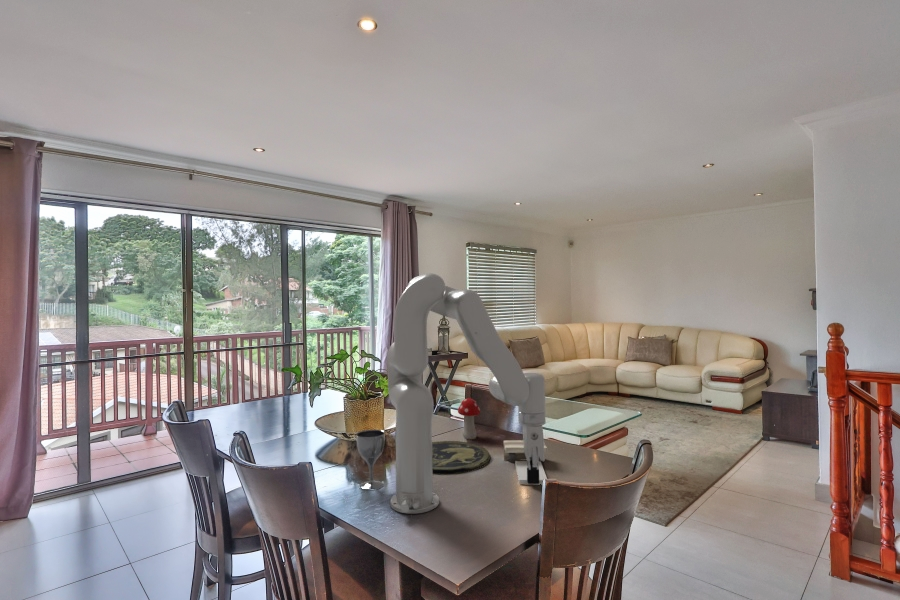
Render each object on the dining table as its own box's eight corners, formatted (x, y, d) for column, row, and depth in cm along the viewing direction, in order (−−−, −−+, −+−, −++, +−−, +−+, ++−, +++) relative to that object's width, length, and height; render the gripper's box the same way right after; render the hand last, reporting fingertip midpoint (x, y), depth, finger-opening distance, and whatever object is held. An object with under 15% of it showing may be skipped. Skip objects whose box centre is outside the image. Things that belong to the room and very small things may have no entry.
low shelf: (547, 467, 146) (546, 447, 146) (505, 467, 146) (505, 447, 146) (543, 458, 154) (542, 440, 154) (503, 458, 154) (503, 440, 154)
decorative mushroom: (455, 434, 183) (454, 396, 183) (475, 432, 186) (474, 395, 186) (463, 441, 174) (462, 401, 174) (484, 439, 176) (484, 399, 176)
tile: (547, 487, 131) (547, 480, 131) (519, 486, 132) (519, 479, 132) (540, 467, 147) (540, 461, 147) (515, 467, 148) (515, 460, 148)
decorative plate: (388, 466, 144) (414, 438, 174) (388, 472, 144) (414, 443, 174) (484, 472, 138) (494, 442, 168) (484, 478, 138) (494, 447, 168)
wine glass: (391, 484, 133) (390, 432, 133) (369, 493, 127) (368, 438, 127) (373, 478, 139) (372, 428, 139) (351, 486, 133) (350, 433, 133)
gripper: (549, 424, 123) (550, 493, 123) (541, 411, 138) (542, 473, 138) (521, 424, 124) (522, 493, 123) (516, 411, 138) (517, 473, 138)
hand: (533, 482), depth 131 cm, fingers closed
